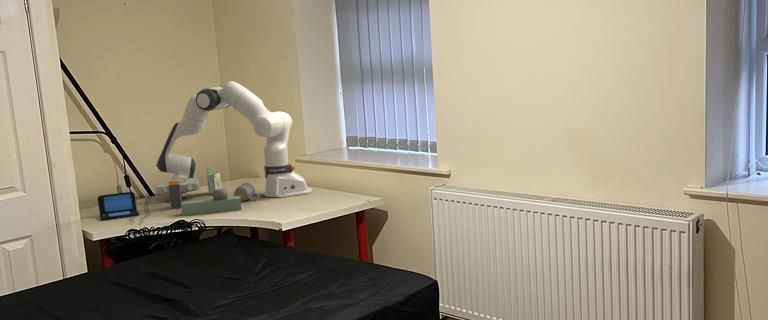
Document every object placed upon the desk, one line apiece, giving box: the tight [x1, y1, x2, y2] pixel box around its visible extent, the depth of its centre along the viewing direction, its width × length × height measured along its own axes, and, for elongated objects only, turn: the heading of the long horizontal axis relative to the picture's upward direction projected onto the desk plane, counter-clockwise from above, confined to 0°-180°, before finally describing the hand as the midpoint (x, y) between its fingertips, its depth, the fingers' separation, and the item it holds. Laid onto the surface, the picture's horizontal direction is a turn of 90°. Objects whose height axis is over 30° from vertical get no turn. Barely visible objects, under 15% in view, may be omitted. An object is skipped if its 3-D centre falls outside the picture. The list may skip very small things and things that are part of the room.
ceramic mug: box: [233, 182, 260, 203], centre depth 330 cm, size 11×8×8 cm
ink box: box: [206, 165, 222, 196], centre depth 352 cm, size 7×4×13 cm, turn 168°
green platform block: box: [180, 188, 243, 217], centre depth 313 cm, size 25×12×9 cm, turn 103°
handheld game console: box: [97, 191, 140, 221], centre depth 313 cm, size 16×13×9 cm
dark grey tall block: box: [167, 179, 183, 210], centre depth 323 cm, size 4×6×13 cm
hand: (177, 190), depth 334 cm, fingers open, 8 cm apart
